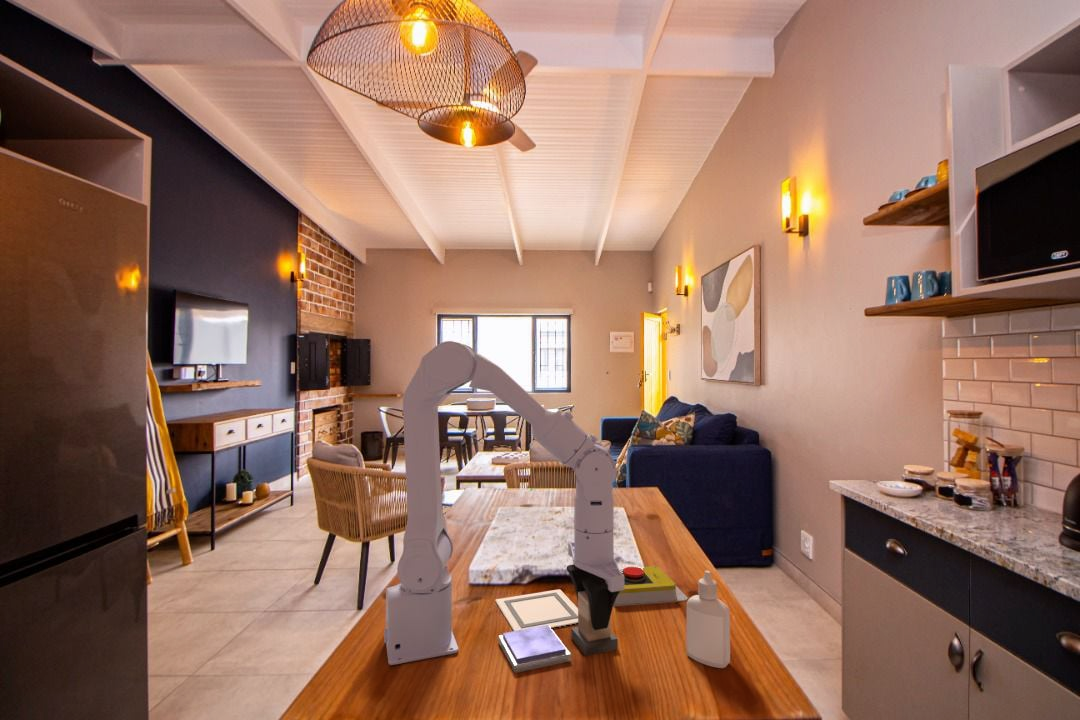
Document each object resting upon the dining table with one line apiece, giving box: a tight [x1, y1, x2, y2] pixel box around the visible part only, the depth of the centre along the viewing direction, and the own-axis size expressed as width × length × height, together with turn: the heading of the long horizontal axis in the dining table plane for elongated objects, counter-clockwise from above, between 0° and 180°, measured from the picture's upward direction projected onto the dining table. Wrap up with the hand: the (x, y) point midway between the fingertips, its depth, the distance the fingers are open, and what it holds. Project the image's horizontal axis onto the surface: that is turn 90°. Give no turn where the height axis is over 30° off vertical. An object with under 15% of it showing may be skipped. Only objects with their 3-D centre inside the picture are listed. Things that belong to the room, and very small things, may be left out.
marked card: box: [495, 588, 578, 631], centre depth 84 cm, size 12×12×1 cm
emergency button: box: [613, 565, 689, 607], centre depth 92 cm, size 9×4×15 cm
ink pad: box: [498, 625, 572, 674], centre depth 72 cm, size 8×8×2 cm
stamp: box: [570, 591, 619, 657], centre depth 75 cm, size 5×5×7 cm
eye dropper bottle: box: [685, 570, 731, 669], centre depth 71 cm, size 4×6×12 cm
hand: (593, 621), depth 75 cm, fingers closed on stamp, 3 cm apart
